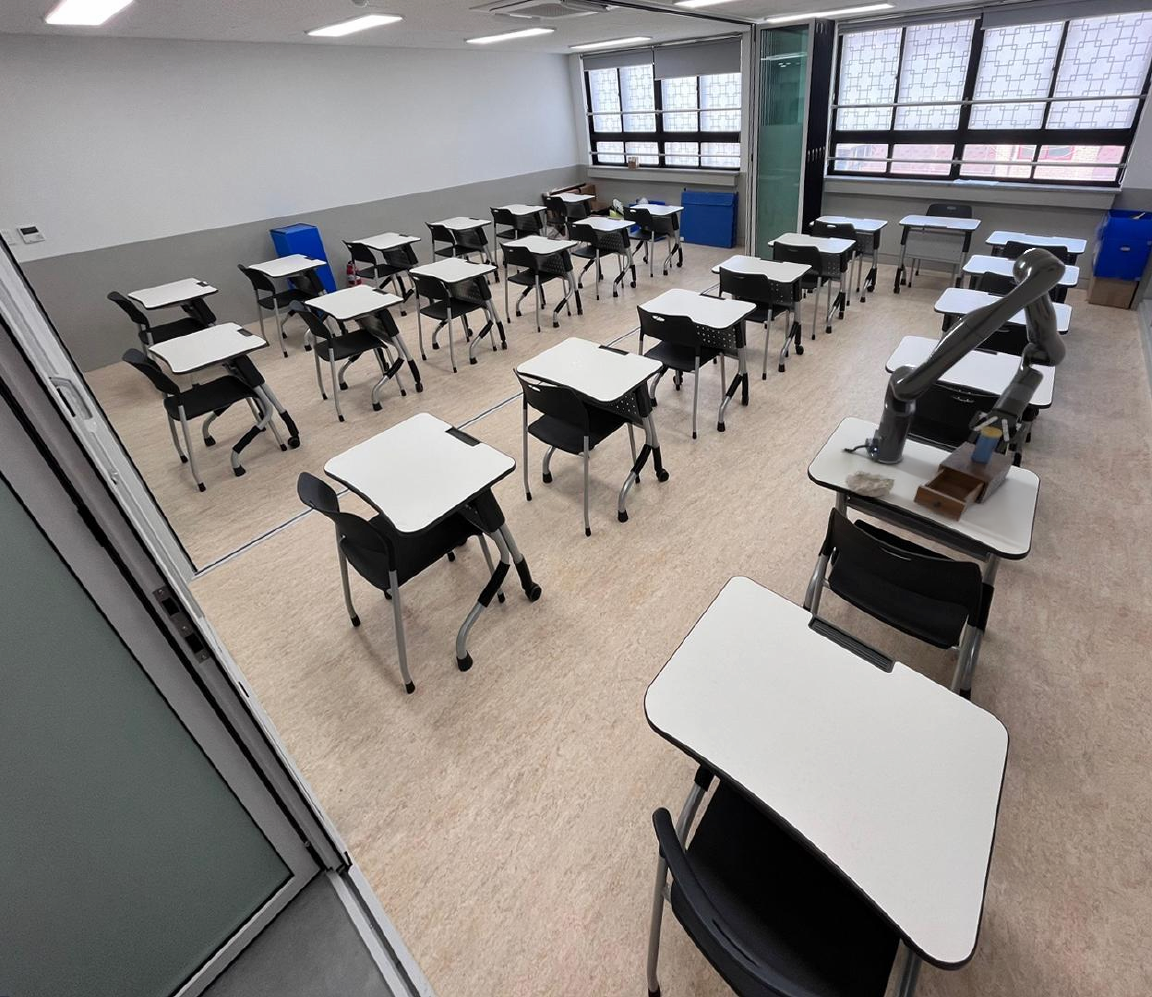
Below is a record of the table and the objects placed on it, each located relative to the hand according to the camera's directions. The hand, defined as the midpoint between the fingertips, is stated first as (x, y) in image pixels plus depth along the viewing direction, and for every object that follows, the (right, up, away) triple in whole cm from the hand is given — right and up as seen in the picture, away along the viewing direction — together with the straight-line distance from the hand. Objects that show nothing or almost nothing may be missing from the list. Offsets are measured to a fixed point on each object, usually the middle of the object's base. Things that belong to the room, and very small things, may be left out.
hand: (983, 447), depth 179 cm
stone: (-33, -14, +8) cm, 37 cm away
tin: (+2, -3, +3) cm, 5 cm away
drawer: (-12, -17, 0) cm, 20 cm away
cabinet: (0, -10, +7) cm, 13 cm away
